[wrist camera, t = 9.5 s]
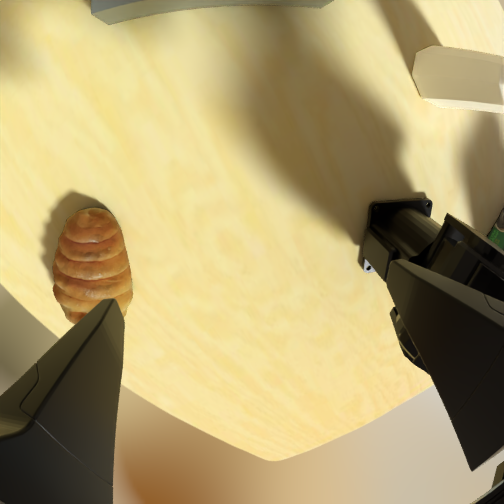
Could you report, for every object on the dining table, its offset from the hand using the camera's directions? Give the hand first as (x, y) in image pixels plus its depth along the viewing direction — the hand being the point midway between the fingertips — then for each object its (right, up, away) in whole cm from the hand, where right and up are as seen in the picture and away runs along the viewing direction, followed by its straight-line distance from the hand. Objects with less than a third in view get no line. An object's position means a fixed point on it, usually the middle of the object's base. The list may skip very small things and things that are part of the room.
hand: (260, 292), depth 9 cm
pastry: (-13, 0, +13) cm, 19 cm away
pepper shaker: (+14, +15, +9) cm, 23 cm away
